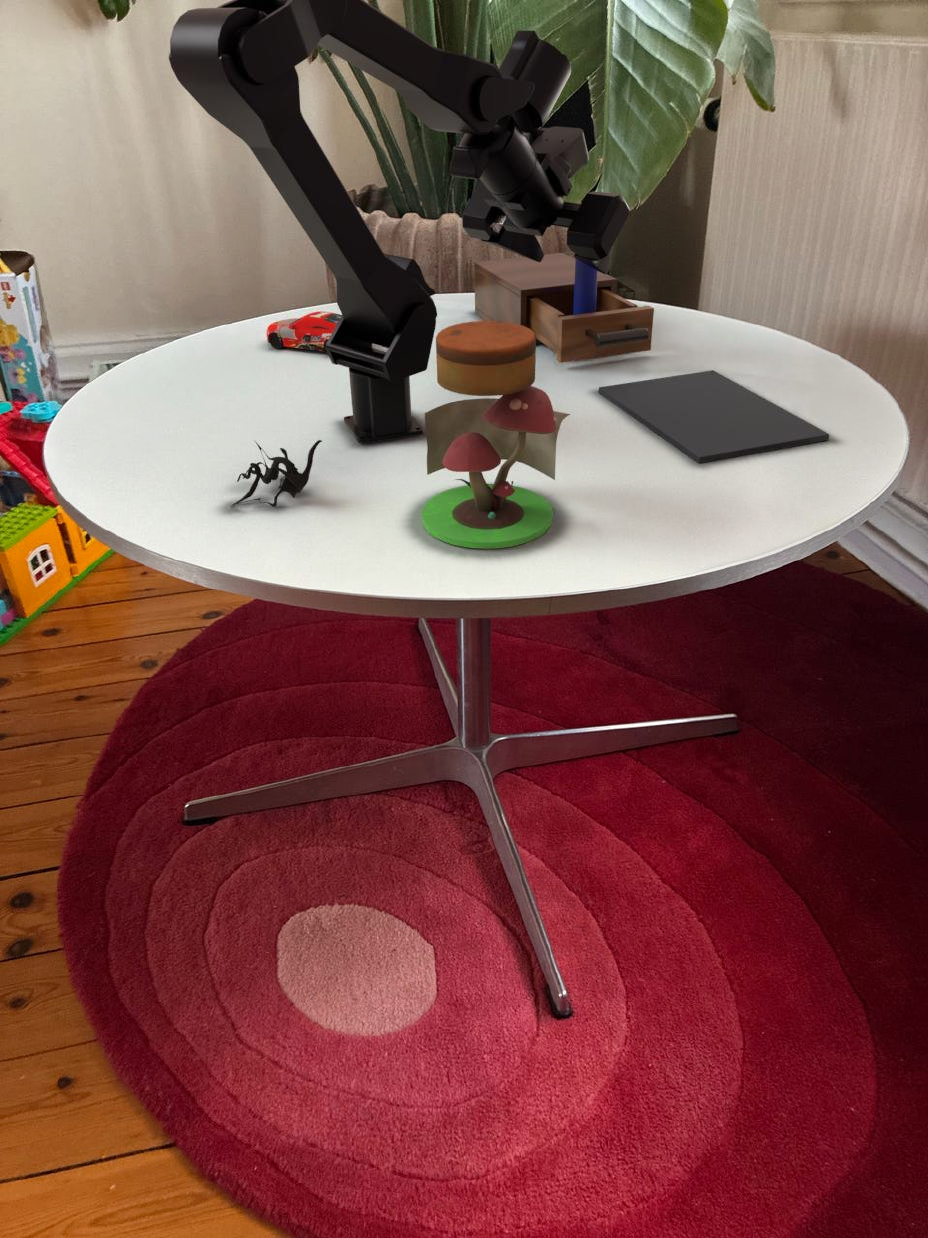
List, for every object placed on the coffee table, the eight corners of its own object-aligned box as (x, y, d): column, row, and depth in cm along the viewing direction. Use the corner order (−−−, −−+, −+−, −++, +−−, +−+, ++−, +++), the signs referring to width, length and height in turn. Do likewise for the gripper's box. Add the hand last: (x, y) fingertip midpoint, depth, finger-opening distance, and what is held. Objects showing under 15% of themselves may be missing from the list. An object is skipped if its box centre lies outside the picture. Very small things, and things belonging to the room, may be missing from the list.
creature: (214, 516, 83) (281, 518, 78) (193, 456, 80) (261, 455, 76) (275, 482, 88) (341, 482, 84) (258, 425, 86) (324, 422, 81)
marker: (599, 334, 114) (605, 211, 106) (578, 337, 113) (583, 213, 106) (588, 328, 116) (594, 207, 109) (568, 330, 115) (572, 209, 108)
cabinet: (613, 333, 121) (617, 278, 117) (520, 345, 117) (520, 289, 114) (560, 302, 133) (562, 252, 129) (474, 313, 130) (474, 261, 126)
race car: (258, 347, 119) (254, 314, 117) (283, 335, 123) (279, 303, 121) (352, 359, 114) (349, 325, 112) (374, 346, 118) (372, 312, 116)
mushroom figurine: (582, 548, 74) (593, 354, 66) (418, 556, 74) (408, 362, 66) (559, 483, 84) (565, 307, 76) (414, 489, 84) (405, 313, 76)
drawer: (667, 360, 109) (672, 316, 106) (575, 373, 106) (577, 329, 103) (594, 317, 123) (596, 278, 121) (511, 328, 120) (511, 288, 118)
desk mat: (828, 439, 91) (829, 433, 91) (698, 463, 87) (699, 457, 87) (712, 375, 107) (713, 369, 107) (598, 392, 103) (598, 387, 103)
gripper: (625, 103, 91) (678, 210, 104) (477, 95, 102) (541, 193, 114) (571, 207, 90) (631, 302, 103) (428, 187, 101) (497, 275, 114)
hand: (573, 264), depth 109 cm, fingers open, 9 cm apart
